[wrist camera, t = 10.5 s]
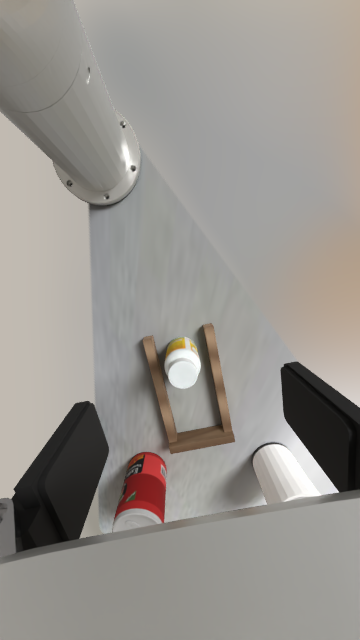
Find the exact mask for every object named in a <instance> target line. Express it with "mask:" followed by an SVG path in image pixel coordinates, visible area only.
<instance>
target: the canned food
mask: <svg viewBox="0 0 360 640" xmlns="http://www.w3.org/2000/svg"><path fill="white" fill-rule="evenodd" d="M166 474H167V470H166V465H165V463H164V461H163V459H162V458H161V457H160V456H158V455H156V454H154V453H151V452H143V453H139V454H137V455H136V456H134V457H133V458H132V460H131V461H130V463H129V465H128V469H127V473H126V476H125V480H124V484H123V488H122V492H121V495H120V499H119V503H118V507H117V510H116V514H115V518H114V522H113V528H112V533H113V532H118V531H123V530H129V529H134V528H139V527H145V526H150V525H156V524H161V523H164V514H165V494H166Z"/></svg>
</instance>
